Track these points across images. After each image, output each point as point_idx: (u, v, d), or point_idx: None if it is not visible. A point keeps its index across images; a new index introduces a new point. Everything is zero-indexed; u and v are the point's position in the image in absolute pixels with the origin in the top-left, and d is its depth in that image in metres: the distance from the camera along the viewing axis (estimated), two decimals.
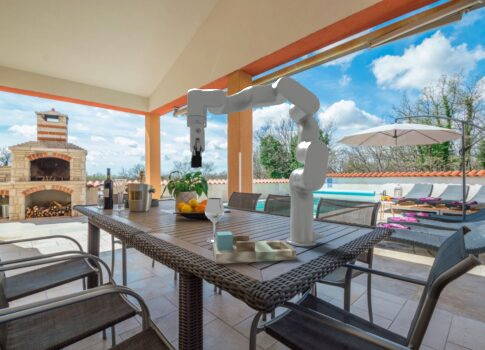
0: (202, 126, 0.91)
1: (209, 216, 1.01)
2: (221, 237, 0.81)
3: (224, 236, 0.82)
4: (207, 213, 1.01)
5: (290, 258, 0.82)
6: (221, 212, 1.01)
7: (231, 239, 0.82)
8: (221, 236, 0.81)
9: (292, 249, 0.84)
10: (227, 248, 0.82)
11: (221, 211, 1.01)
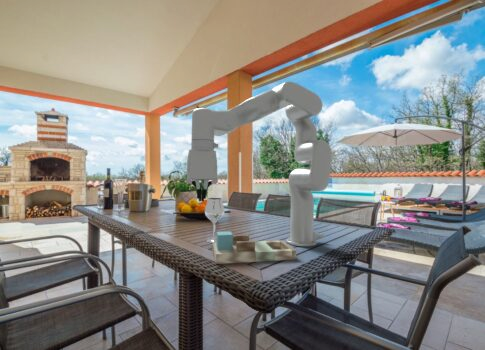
0: None
1: (209, 216, 1.01)
2: (221, 237, 0.81)
3: (224, 236, 0.82)
4: (207, 213, 1.01)
5: (290, 258, 0.82)
6: (221, 212, 1.01)
7: (231, 239, 0.82)
8: (221, 236, 0.81)
9: (292, 249, 0.84)
10: (227, 248, 0.82)
11: (221, 211, 1.01)
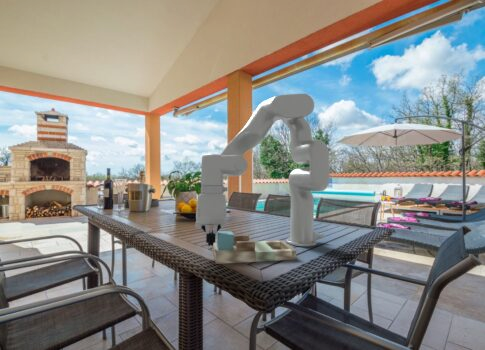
0: None
1: None
2: (222, 237, 0.81)
3: (225, 236, 0.82)
4: None
5: (290, 258, 0.82)
6: None
7: (232, 239, 0.82)
8: (222, 235, 0.81)
9: (292, 249, 0.84)
10: (228, 248, 0.82)
11: None
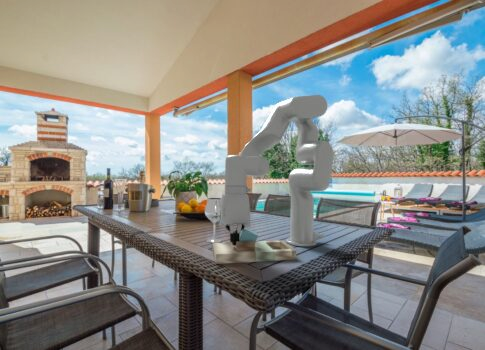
0: None
1: (209, 216, 1.01)
2: (246, 234, 0.83)
3: (249, 234, 0.83)
4: (207, 213, 1.01)
5: (290, 258, 0.82)
6: None
7: (255, 239, 0.83)
8: (247, 233, 0.83)
9: (292, 249, 0.84)
10: None
11: None
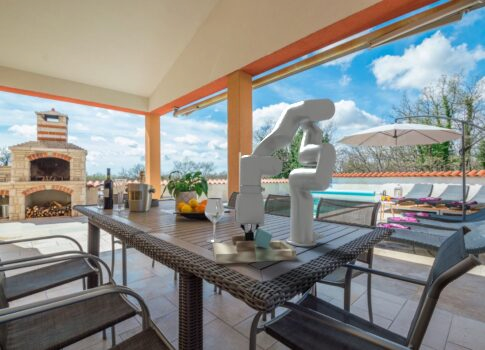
0: None
1: (209, 216, 1.01)
2: (261, 233, 0.83)
3: (264, 233, 0.84)
4: (207, 213, 1.01)
5: (290, 258, 0.82)
6: (221, 212, 1.01)
7: (269, 239, 0.84)
8: (262, 232, 0.83)
9: (292, 249, 0.84)
10: (263, 245, 0.84)
11: (221, 211, 1.01)
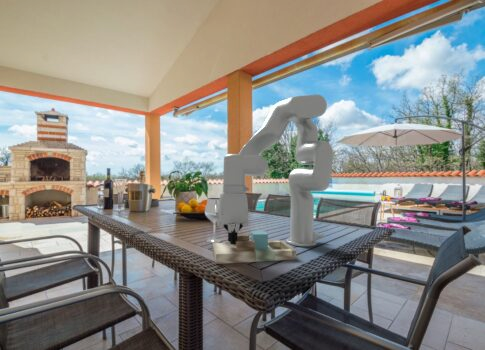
0: None
1: (209, 216, 1.01)
2: (256, 236, 0.83)
3: (259, 235, 0.83)
4: (207, 213, 1.01)
5: (290, 258, 0.82)
6: None
7: (266, 238, 0.84)
8: (257, 235, 0.83)
9: (292, 249, 0.84)
10: (262, 247, 0.83)
11: None
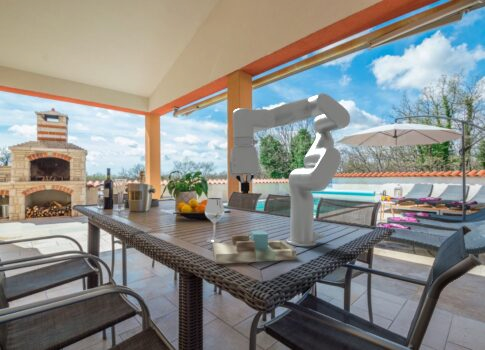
0: None
1: (209, 216, 1.01)
2: (256, 236, 0.83)
3: (259, 235, 0.83)
4: (207, 213, 1.01)
5: (290, 258, 0.82)
6: (221, 212, 1.01)
7: (266, 238, 0.84)
8: (257, 235, 0.83)
9: (292, 249, 0.84)
10: (262, 247, 0.83)
11: (221, 211, 1.01)
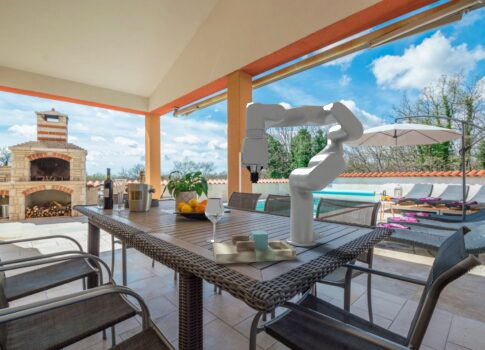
0: None
1: (209, 216, 1.01)
2: (256, 236, 0.83)
3: (259, 235, 0.83)
4: (207, 213, 1.01)
5: (290, 258, 0.82)
6: (221, 212, 1.01)
7: (266, 238, 0.84)
8: (257, 235, 0.83)
9: (292, 249, 0.84)
10: (262, 247, 0.83)
11: (221, 211, 1.01)
